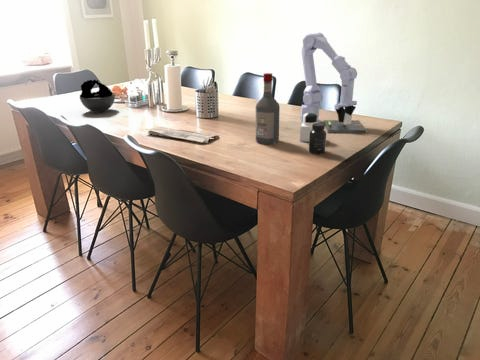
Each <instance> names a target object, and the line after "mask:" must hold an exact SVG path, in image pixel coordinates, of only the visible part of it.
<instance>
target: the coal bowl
mask: <svg viewBox="0 0 480 360" xmlns="http://www.w3.org/2000/svg"><path fill="white" fill-rule="evenodd" d="M95 85H97V86H98V90H97V91H93V92H92V90H93V88H94V87H95ZM80 89H81V93H80V94H79V99H80V100H79V101H80V102H81V104H82V105H83V106H84V108H85V109H87V110H88V111H91V112H93V111H94V112H93V113H102V112H101V111H103V112H106V111H108V110H110V109H111V107H112V106H113V104H114V103H115V98H116V94H115V92H113V91H112V90H111V89H110V88H109V87H108V86H106V85H105V84H104V83H102V82H100V80H97V79H93V80H92V79H90V80H86V81H83V83H82V84H81V85H80Z"/></svg>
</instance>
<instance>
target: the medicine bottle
mask: <svg viewBox="0 0 480 360" xmlns="http://www.w3.org/2000/svg"><path fill="white" fill-rule="evenodd" d="M316 122H317V115H316V114H314V113H306V114H304V115H303V123H301V125H300V126H299V127H300V128H299V132H300V133H299V141H300V142H304V143H305V142H307V143H309V135H310V131H311V130H313V129H312V125H313V124H314V123H316Z"/></svg>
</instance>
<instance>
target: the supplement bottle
mask: <svg viewBox="0 0 480 360" xmlns="http://www.w3.org/2000/svg"><path fill="white" fill-rule="evenodd" d="M312 129H313V130H311V131H310V135H309V142H308V152H309V153H310V154H312V155H323V154H325V153H326V147H327V146H326V145H327V130H325V125H324V122H320V123H314V124H313V125H312Z"/></svg>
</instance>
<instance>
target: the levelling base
mask: <svg viewBox="0 0 480 360" xmlns="http://www.w3.org/2000/svg"><path fill="white" fill-rule="evenodd" d="M323 124H324V129H326V130H325V131H326V133H327V134H367V129H366V128H365V126H364V125H363V124H362V123H361V122H360V120H359V119H358V120H355V119H354V120H353V119H352V120H351V124H347V125H342V122H339V120H338V119H336V120H334V119H331V120H329V119H328V120H326V119H325V120H324V119H323Z"/></svg>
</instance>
